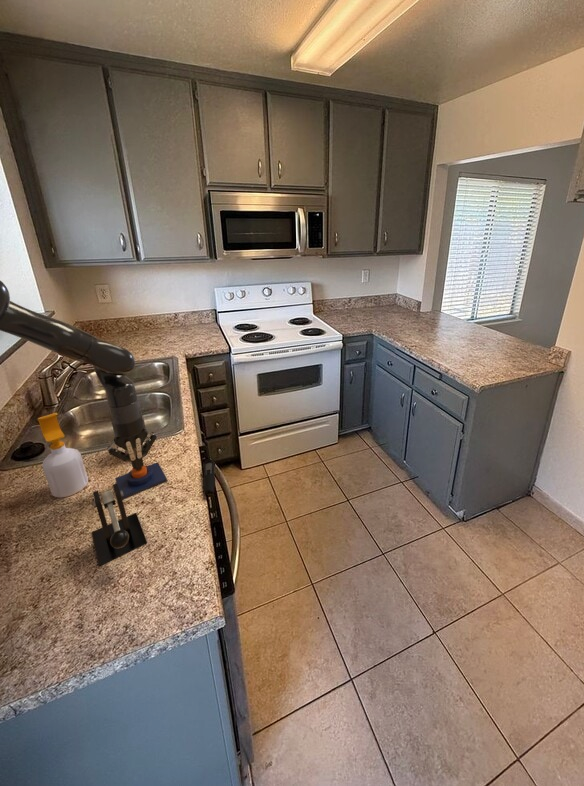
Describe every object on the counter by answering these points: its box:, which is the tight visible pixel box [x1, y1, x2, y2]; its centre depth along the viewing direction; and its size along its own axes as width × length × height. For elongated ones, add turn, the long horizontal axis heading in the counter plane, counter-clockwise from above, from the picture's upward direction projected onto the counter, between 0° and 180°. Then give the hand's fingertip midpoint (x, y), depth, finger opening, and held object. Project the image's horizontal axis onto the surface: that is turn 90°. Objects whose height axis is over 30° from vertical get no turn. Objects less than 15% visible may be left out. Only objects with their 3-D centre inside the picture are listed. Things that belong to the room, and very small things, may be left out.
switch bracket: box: [91, 482, 148, 568], centre depth 84 cm, size 12×10×15 cm
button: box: [130, 465, 147, 479], centre depth 105 cm, size 4×4×2 cm
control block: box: [114, 462, 168, 501], centre depth 105 cm, size 12×10×4 cm
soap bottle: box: [37, 412, 89, 498], centre depth 101 cm, size 9×9×25 cm
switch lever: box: [100, 489, 129, 548], centre depth 80 cm, size 13×4×4 cm, turn 38°
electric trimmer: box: [202, 458, 217, 495], centre depth 107 cm, size 4×16×3 cm, turn 16°
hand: (138, 468), depth 104 cm, fingers closed
